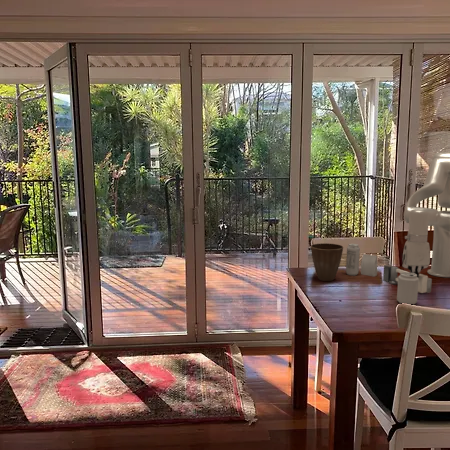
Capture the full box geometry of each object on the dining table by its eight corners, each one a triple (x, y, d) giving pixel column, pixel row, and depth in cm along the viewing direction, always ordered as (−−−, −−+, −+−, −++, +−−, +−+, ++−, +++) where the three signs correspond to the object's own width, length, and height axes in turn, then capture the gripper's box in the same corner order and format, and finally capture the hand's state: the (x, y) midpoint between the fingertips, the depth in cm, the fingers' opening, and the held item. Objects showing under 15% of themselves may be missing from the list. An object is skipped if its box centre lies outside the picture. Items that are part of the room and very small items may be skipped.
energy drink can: (361, 274, 212) (362, 245, 210) (352, 276, 209) (353, 246, 207) (351, 272, 218) (353, 243, 215) (343, 273, 215) (344, 244, 212)
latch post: (426, 290, 187) (427, 277, 186) (430, 292, 185) (431, 278, 184) (422, 291, 186) (423, 278, 185) (426, 292, 184) (427, 279, 183)
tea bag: (374, 276, 209) (375, 256, 208) (360, 274, 214) (361, 254, 212) (376, 275, 212) (377, 255, 210) (363, 272, 216) (364, 253, 215)
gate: (393, 281, 200) (394, 266, 199) (426, 292, 184) (427, 275, 183) (388, 282, 199) (389, 267, 198) (421, 293, 183) (422, 276, 182)
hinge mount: (388, 279, 204) (389, 264, 203) (400, 283, 197) (401, 267, 196) (381, 280, 202) (382, 265, 201) (393, 285, 196) (394, 269, 194)
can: (418, 306, 168) (421, 276, 166) (398, 305, 170) (400, 275, 168) (414, 300, 175) (416, 271, 173) (395, 299, 177) (396, 270, 175)
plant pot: (307, 281, 201) (308, 248, 198) (312, 273, 215) (313, 242, 212) (340, 284, 196) (342, 250, 194) (342, 276, 210) (344, 244, 208)
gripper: (404, 240, 177) (400, 283, 180) (439, 240, 178) (435, 283, 180) (396, 237, 184) (393, 278, 187) (429, 237, 185) (426, 278, 188)
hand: (413, 280), depth 184 cm, fingers closed
